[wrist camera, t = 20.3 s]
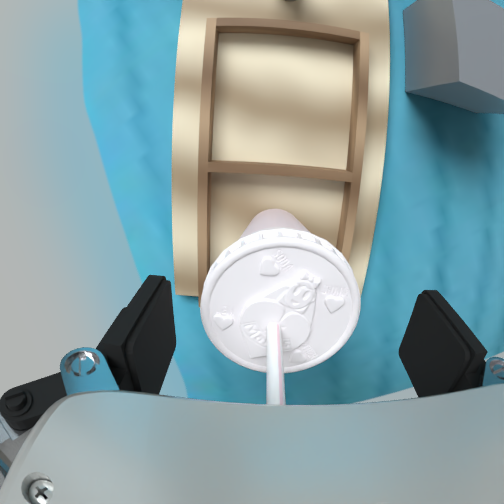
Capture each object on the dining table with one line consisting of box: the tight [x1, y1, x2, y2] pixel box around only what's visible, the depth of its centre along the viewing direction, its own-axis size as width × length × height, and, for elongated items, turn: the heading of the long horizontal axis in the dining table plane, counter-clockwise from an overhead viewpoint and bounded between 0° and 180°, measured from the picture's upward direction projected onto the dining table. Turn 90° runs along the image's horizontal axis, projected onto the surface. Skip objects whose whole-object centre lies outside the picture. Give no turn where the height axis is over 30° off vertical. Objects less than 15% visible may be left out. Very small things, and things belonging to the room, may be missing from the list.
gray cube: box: [403, 0, 504, 114], centre depth 13 cm, size 7×7×7 cm
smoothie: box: [200, 209, 361, 405], centre depth 14 cm, size 6×6×14 cm
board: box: [172, 0, 390, 307], centre depth 16 cm, size 28×14×5 cm, turn 177°
